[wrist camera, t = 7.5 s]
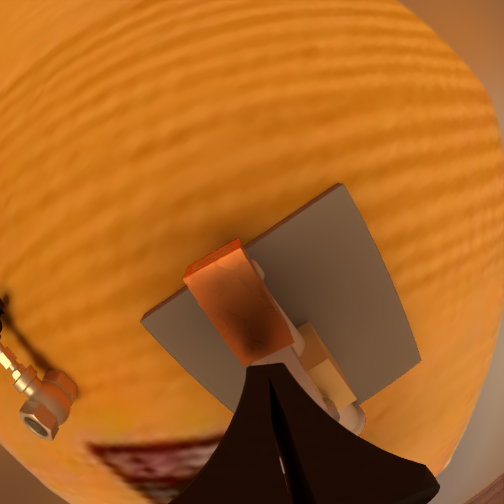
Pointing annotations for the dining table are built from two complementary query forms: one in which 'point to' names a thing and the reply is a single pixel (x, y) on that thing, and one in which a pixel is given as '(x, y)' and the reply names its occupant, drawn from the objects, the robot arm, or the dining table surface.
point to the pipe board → (308, 311)
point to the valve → (40, 394)
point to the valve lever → (248, 314)
